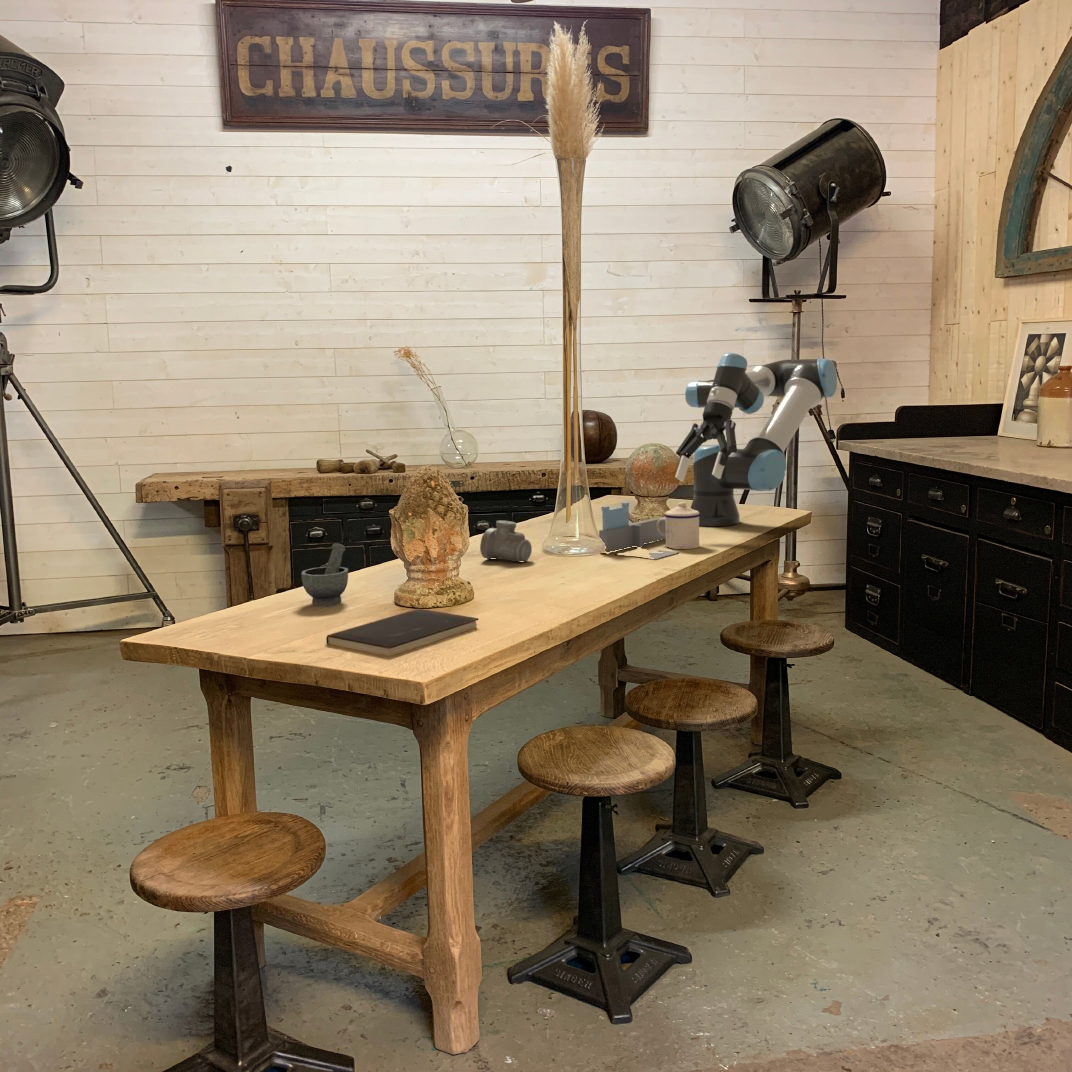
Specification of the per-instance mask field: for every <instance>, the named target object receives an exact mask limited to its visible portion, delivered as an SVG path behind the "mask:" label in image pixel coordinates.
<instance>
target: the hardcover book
mask: <svg viewBox="0 0 1072 1072" xmlns="http://www.w3.org/2000/svg"><path fill="white" fill-rule="evenodd" d="M479 620H480V619H479V618H478V617H474V616H466V615H461V614H460V615H459V614H454V613H447V612H441V611H435V610H428V609H422V608H416V609H413V610H409V611H406V612H402V613H399V614H395V615H391V616H389V617H385V618H382V619H378V620H375V621H371V622H369V623H365V624H364V623H363V624H361V625H357V626H354V627H351V628H347V629H344V630H340V631H337V632H333V633H330V634H328V635H326V637H325V639H326V645H332V646H337V647H343V648H348V649H352V650H353V649H354V650H356V651H357V650H358V651H363V652H368V653H372V654H377V655H381V656H386V657H392V656H393V655H397V654H400V653H404V652H406V651H409V650H413V649H416V648H419V647H422V646H425V645H427V644H430V643H434V642H436V641H440V640H442V639H443V640H444V639H446V638H449V637H451V636H455V635H458V634H461V633H464V632H467V631H470V630H473V629H477V626H478V624H477V621H479Z"/></svg>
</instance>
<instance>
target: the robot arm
mask: <svg viewBox="0 0 1072 1072" xmlns="http://www.w3.org/2000/svg"><path fill="white" fill-rule="evenodd" d="M747 367H748V360H747V358H746V357H744V356H743V355H741V354H738V353H735V352H728V353H724V354H723V355H722V356H721V358H720V360H719V362H718V364H717V367H716V370H715V375H714V377H713V379H709V380H702V381H701V380H697V381H691V382H689V383H688V384H687V385H686V387H685V392H684V397H685V402H686V403H687V406H689V407H691V408H697V409H698V408H699V409H700V408H704V410H703V413H702V419H703V421H702V423H701V424H697V423H695V422H694V423H692V427H691V429H690V431H689V432H688V433H687V435H686V436H685V437H684V440H683V441H682V443H681V444H680V446H679V447H678V448H677V450H676V451H675V455H677V456H678V457H679V459H678V464H677V470H676V473H675V476H674V477H675V479H677V480H679V481H680V482H684V481H685V478H686V474H687V472H688V469H689V466H690V463H691V459H690V458H691V457H692V456H693V461H692V466H693V499H692V502H691V506H690V508H692V509H693V510H696V511H698V512H699V514H700V516H699V527H700V526H701V527H727V526H734V525H738V524H740V520H741V518H740V513H739V510H738V506H737V502H736V500H735V496H734V490H744V491H745V490H748V491H755V492H765V491H773V490H775V489H777V488H779V486H780V485H781V484H782V482H783V480H784V479H785V475H786V473H785V472H786V471H787V460H786V459H787V458H786V457H785V453H784V452H785V451H786V449H787V447H788V446H789V444H790V443H791V441H792V439H793V437H794V436H795V434H796V432H797V430H798V429H799V427H800V426H801V424H802V423H803V421H804V419H805V417H806V416H807V415H808V412H809V411H810V409H813V408H816V407H817V406H819V404H820V402H821V401H822V400H823V398H827V399H828V398H831V397H834V395H835V393H836V390H837V386H838V375H837V370H836V367H835V364H834V363H833V361H832V360H830V359H828V358H820V357H817V358H810V359H809V358H808V359H806V358H805V359H804V358H803V359H782V360H776V361H772V362H770V363H766V364H763V365H758V366H755V367H754V368H752V369H751V370H750V371H747V370H748V369H747ZM766 397H775V398H776V397H779V398H781V400H780V402H779V403H778V405H777V406H776V408H775V409H774V411H773V412H772V414H771V416H770V417H769V419H768V421H767V422H766V423H765V425H764V427H763V428H762V430H761V432H760V433H759V435H758V436H757V437H753V438H751V439H749V441H748V442H747V444H746V445H745V447H744V448H738V447H737V439H736V430H735V429H736V427H737V426H736V425H737V423H736V422H735V421H733V419H731V418H732V416H733V411H734V409H735V408H737V409H739V410H740V411H741V412H742V413H744V414H747V415H752V414H755V413H757V412H758V411H759V410H760V409H761V408H762V407H763V405H764V401H765V398H766ZM724 431H725V433H724ZM710 440H717V443H718V445H710V446H709V445H708V446H703V447H702V445H703V444H704V443H707V442H708V441H710Z"/></svg>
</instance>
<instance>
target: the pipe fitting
mask: <svg viewBox="0 0 1072 1072" xmlns="http://www.w3.org/2000/svg"><path fill="white" fill-rule="evenodd" d="M495 522H496V523H495V526H496V527H490V528H487V530H485V532H484V533H483V534H482V536H481V540H480V544H479V545H480V546H479V547H480V548H479V549H480V550H479V551H480V554H481V556H482V557H483V558H484V559H485V558H487V559H486V560H489V559H491V558H498V559H499V558H500V559H504V560H507V561H511V560H513V561H512V562H515V561H526V560H527V561H528V560H529V559H530V557H531V555H532V547H533V546H532V543H531V541H530V540H529V539H527V538H526V536H525V534H524V533H523V532H517V531H515V530H516V528H517V523H516V522H514V521H509V520H496V521H495ZM527 561H526V562H527Z"/></svg>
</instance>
